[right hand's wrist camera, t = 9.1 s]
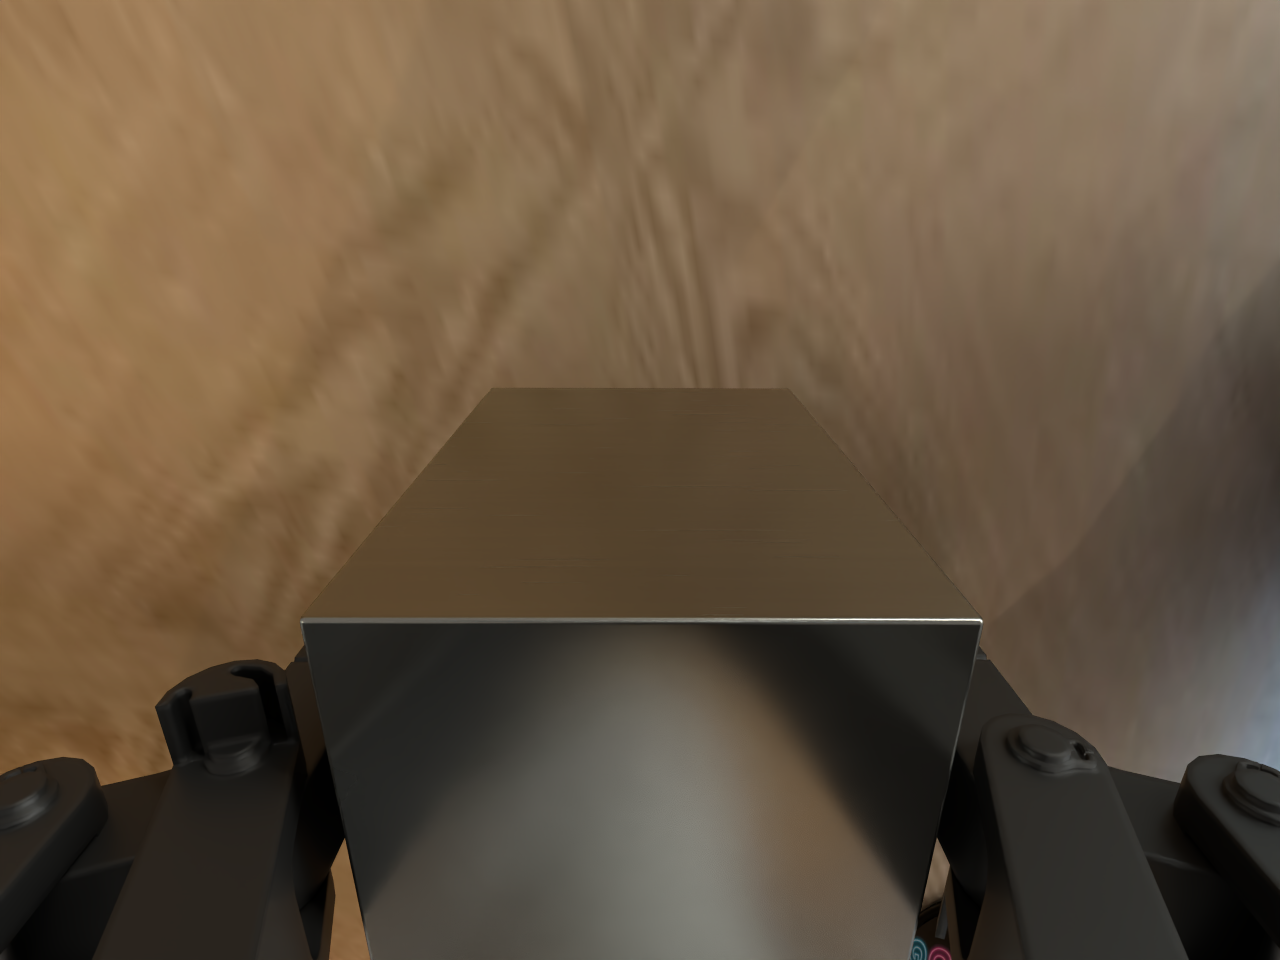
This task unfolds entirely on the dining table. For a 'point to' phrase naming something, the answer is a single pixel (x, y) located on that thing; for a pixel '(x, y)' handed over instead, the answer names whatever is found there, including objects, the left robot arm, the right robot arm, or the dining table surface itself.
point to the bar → (640, 689)
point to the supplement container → (930, 937)
